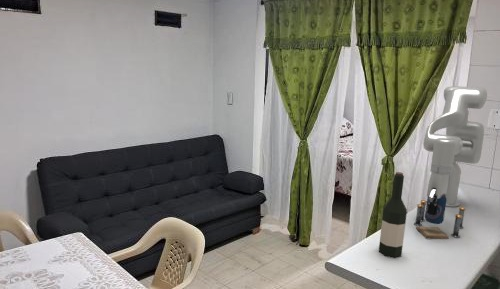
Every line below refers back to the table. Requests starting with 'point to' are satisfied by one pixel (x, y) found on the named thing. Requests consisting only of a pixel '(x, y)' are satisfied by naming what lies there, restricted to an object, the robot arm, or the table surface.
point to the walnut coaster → (432, 232)
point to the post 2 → (423, 210)
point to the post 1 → (419, 215)
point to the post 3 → (456, 226)
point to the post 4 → (461, 212)
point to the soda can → (440, 211)
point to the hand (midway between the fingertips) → (435, 211)
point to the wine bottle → (393, 221)
